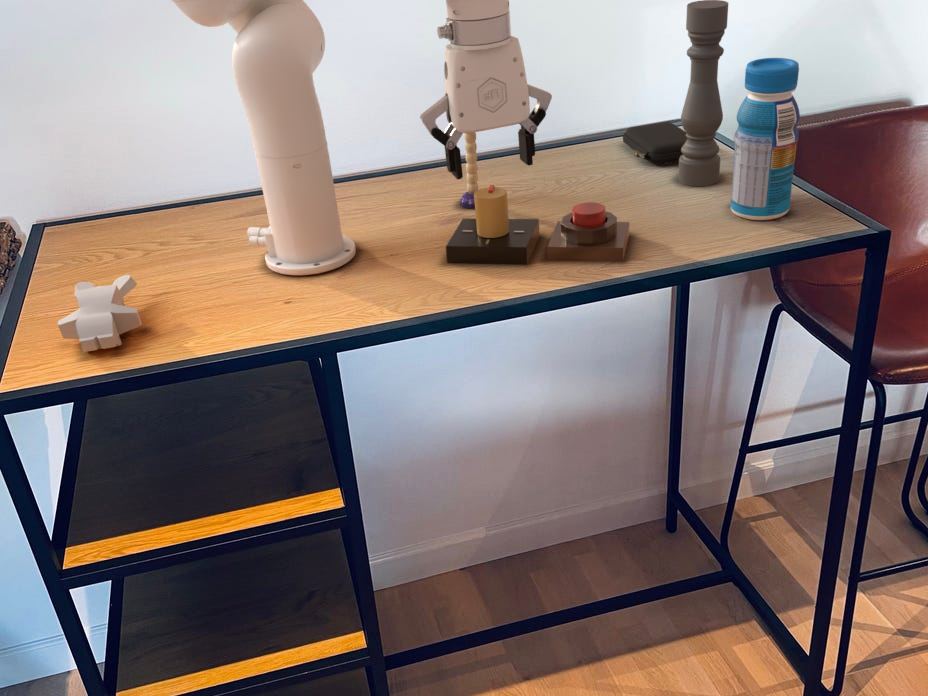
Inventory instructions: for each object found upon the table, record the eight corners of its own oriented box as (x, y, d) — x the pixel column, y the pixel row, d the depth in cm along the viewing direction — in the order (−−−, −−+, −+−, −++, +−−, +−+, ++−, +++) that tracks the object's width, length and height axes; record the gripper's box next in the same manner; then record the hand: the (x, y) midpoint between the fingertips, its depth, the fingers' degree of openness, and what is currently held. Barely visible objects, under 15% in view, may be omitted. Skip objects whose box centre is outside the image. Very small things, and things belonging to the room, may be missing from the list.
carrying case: (612, 144, 170) (645, 170, 158) (612, 126, 168) (645, 151, 156) (671, 135, 171) (707, 160, 159) (671, 117, 169) (708, 141, 158)
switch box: (547, 260, 132) (546, 232, 130) (557, 234, 139) (557, 207, 137) (622, 262, 130) (623, 233, 127) (629, 235, 137) (629, 207, 135)
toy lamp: (492, 198, 153) (484, 86, 143) (489, 209, 149) (481, 95, 139) (461, 199, 153) (452, 88, 144) (458, 210, 150) (448, 97, 140)
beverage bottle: (727, 221, 138) (738, 72, 127) (730, 199, 145) (740, 56, 133) (790, 222, 136) (807, 70, 125) (790, 200, 143) (805, 54, 131)
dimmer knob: (507, 237, 133) (504, 195, 130) (475, 238, 134) (471, 196, 130) (510, 225, 136) (508, 184, 133) (479, 226, 137) (476, 185, 134)
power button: (570, 229, 131) (569, 214, 130) (574, 216, 135) (574, 201, 133) (603, 229, 130) (603, 214, 129) (607, 216, 134) (607, 202, 132)
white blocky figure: (50, 334, 116) (61, 270, 127) (64, 369, 119) (74, 304, 130) (132, 320, 117) (136, 259, 128) (144, 356, 120) (147, 293, 131)
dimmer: (447, 263, 134) (445, 245, 132) (464, 234, 142) (462, 217, 140) (527, 265, 131) (526, 246, 130) (539, 235, 139) (539, 217, 138)
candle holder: (688, 189, 150) (697, 10, 135) (671, 176, 155) (677, 3, 140) (726, 182, 151) (738, 4, 136) (707, 170, 156) (717, -3, 141)
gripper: (419, 47, 115) (436, 190, 125) (557, 24, 119) (563, 165, 129) (404, 36, 121) (421, 173, 131) (535, 14, 125) (543, 149, 135)
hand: (491, 169), depth 130 cm, fingers open, 9 cm apart
